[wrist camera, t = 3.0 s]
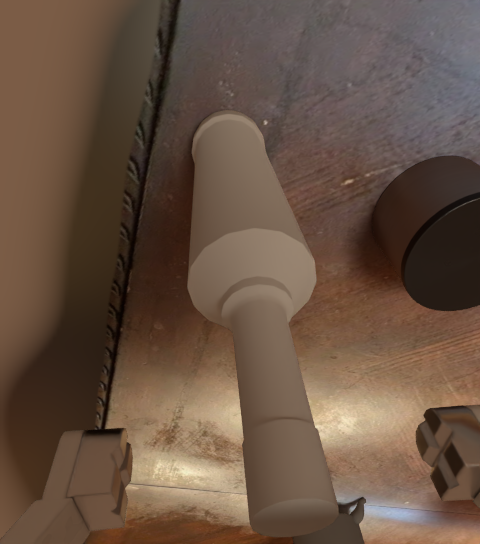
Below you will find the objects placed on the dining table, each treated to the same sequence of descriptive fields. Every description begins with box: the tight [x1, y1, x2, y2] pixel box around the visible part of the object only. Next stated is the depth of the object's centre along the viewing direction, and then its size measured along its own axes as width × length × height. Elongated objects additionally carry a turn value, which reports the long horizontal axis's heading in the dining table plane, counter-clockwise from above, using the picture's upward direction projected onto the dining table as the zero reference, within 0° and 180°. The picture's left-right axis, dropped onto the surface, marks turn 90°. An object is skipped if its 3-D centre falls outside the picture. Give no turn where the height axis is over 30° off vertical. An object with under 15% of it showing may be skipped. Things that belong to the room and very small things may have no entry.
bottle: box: [187, 110, 339, 537], centre depth 19 cm, size 5×5×25 cm
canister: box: [372, 156, 480, 311], centre depth 31 cm, size 10×10×7 cm
